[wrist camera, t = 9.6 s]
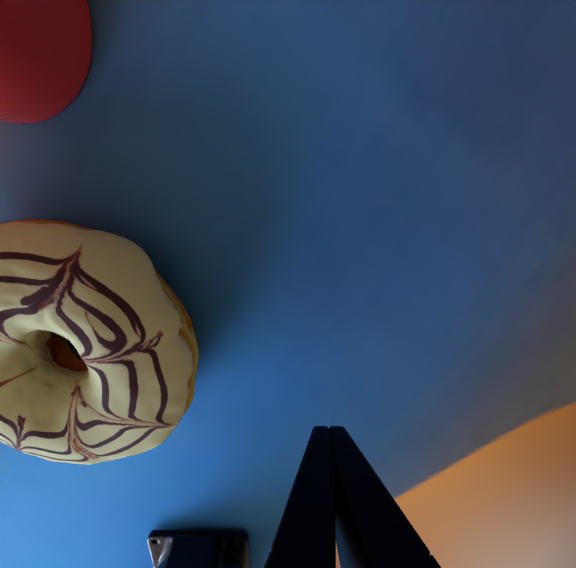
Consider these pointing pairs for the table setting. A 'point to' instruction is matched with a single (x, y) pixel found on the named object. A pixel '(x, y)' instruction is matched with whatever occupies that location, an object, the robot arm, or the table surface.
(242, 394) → the table surface
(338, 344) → the table surface
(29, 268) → the decorated donut
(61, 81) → the red can
